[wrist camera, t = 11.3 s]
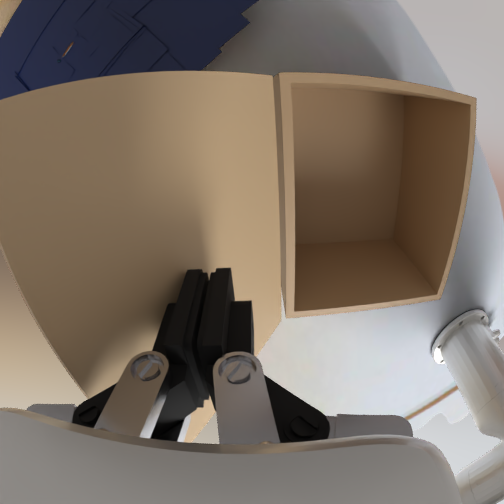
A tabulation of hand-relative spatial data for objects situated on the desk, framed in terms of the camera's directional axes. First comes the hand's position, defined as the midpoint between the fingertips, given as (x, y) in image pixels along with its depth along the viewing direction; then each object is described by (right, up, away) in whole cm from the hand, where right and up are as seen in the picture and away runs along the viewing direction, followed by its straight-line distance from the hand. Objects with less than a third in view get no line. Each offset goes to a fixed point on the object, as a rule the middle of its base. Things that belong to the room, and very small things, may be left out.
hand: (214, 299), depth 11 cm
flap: (0, +1, +1) cm, 1 cm away
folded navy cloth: (-15, +23, +9) cm, 29 cm away
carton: (+10, +10, +16) cm, 21 cm away
